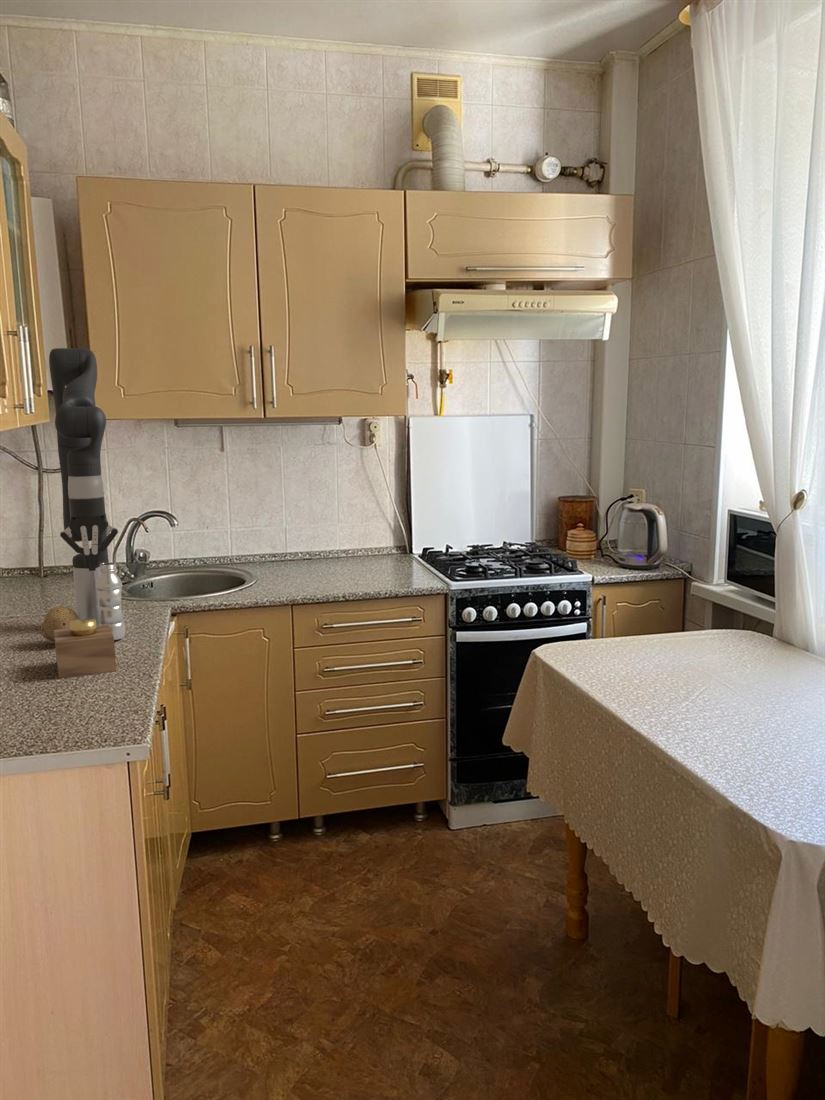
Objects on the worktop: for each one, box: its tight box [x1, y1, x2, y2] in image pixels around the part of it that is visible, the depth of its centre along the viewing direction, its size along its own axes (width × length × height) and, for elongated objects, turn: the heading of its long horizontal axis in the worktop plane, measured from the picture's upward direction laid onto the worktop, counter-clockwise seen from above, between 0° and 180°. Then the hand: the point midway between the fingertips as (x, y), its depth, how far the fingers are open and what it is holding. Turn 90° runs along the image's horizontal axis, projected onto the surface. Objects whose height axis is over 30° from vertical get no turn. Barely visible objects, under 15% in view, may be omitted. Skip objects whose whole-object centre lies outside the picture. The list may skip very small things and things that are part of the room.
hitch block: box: [54, 624, 117, 679], centre depth 191 cm, size 13×12×8 cm
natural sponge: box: [40, 605, 79, 644], centre depth 211 cm, size 9×9×10 cm
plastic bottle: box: [96, 562, 126, 641], centre depth 214 cm, size 6×7×20 cm
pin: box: [70, 619, 97, 636], centre depth 191 cm, size 6×6×10 cm
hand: (92, 570), depth 192 cm, fingers closed
